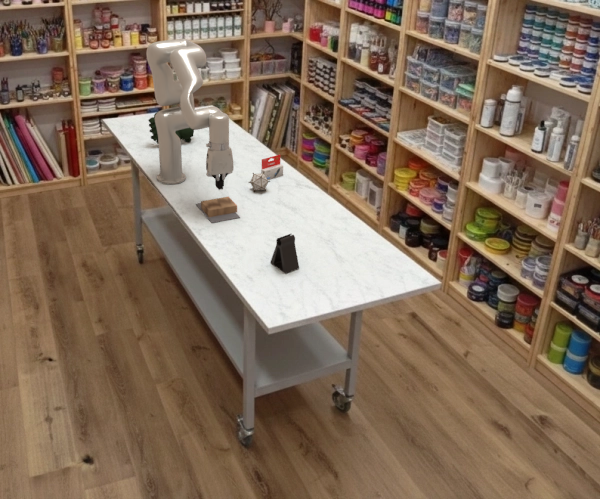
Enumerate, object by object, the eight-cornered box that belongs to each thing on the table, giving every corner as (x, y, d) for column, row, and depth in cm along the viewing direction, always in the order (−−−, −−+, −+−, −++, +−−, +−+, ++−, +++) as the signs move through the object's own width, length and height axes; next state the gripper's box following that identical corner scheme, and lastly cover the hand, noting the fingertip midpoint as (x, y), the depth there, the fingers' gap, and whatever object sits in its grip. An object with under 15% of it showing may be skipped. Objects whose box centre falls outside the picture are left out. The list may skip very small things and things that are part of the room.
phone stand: (270, 263, 251) (271, 233, 245) (283, 258, 254) (284, 229, 248) (285, 273, 245) (287, 244, 239) (299, 268, 248) (300, 239, 243)
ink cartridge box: (283, 175, 318) (284, 155, 314) (264, 181, 312) (264, 161, 307) (279, 174, 320) (280, 154, 315) (260, 179, 313) (261, 159, 309)
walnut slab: (228, 203, 290) (201, 207, 285) (228, 196, 289) (201, 201, 284) (237, 212, 284) (209, 217, 278) (237, 205, 282) (209, 210, 277)
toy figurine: (158, 154, 337) (204, 141, 349) (152, 117, 327) (200, 105, 338) (149, 148, 344) (195, 135, 355) (144, 111, 333) (191, 99, 345)
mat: (195, 204, 289) (195, 203, 288) (223, 199, 294) (222, 198, 294) (211, 223, 275) (211, 222, 275) (240, 218, 280) (240, 217, 280)
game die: (261, 199, 304) (266, 188, 295) (244, 190, 304) (247, 179, 295) (270, 183, 308) (274, 172, 299) (252, 175, 308) (256, 163, 299)
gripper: (204, 150, 265) (205, 195, 274) (240, 145, 271) (240, 189, 280) (197, 144, 270) (198, 187, 279) (233, 139, 277) (233, 181, 286)
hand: (219, 188), depth 280 cm, fingers closed
